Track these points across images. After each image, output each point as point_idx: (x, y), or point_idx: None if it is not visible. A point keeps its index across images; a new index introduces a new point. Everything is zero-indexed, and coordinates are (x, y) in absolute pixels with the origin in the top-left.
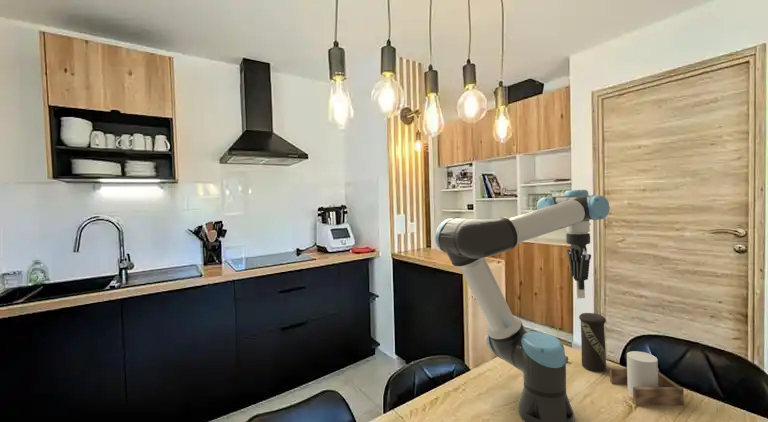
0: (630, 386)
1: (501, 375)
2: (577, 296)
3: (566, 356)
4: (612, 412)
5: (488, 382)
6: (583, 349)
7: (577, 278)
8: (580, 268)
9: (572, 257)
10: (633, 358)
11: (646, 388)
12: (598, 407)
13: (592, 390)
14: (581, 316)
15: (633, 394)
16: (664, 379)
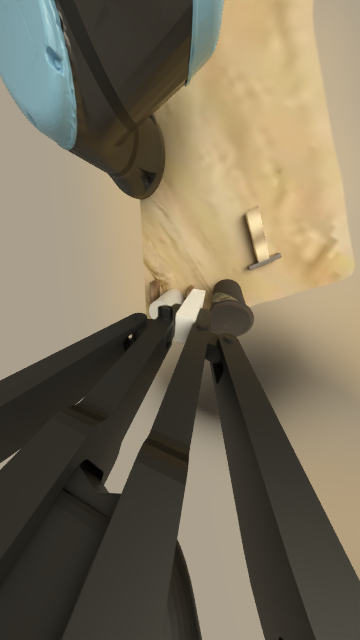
0: (171, 290)
1: (251, 99)
2: (191, 291)
3: (252, 268)
4: (146, 250)
5: (234, 40)
6: (228, 285)
7: (162, 317)
8: (86, 350)
9: (133, 516)
10: (157, 302)
11: (151, 293)
12: (153, 241)
13: (181, 256)
14: (236, 305)
15: (155, 281)
16: None
